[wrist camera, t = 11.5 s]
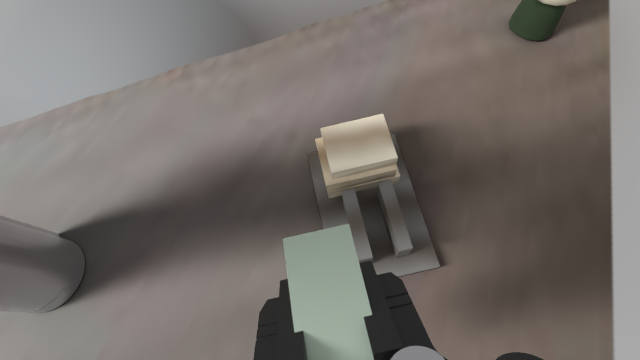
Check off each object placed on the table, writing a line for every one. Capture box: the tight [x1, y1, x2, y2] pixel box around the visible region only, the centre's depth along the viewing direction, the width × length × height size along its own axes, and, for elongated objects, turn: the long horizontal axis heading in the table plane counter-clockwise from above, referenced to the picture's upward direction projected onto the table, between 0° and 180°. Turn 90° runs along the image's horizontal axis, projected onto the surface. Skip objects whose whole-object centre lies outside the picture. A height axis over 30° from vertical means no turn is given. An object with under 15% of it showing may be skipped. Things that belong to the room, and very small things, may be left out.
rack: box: [307, 114, 440, 277], centre depth 40 cm, size 18×12×7 cm, turn 12°
